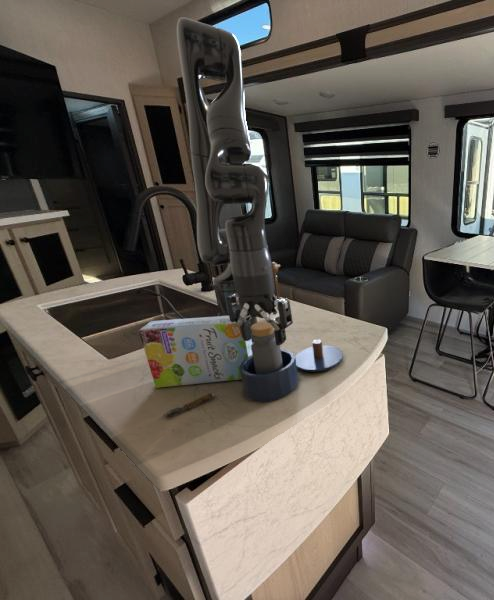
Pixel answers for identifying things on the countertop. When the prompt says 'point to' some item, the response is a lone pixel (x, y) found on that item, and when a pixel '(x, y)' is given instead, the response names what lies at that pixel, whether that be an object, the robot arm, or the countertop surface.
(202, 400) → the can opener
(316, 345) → the lid
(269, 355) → the bottle
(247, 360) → the blue round container
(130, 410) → the countertop surface
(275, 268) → the wooden tabletop sculpture
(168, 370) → the snack box
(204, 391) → the countertop surface
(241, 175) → the robot arm
